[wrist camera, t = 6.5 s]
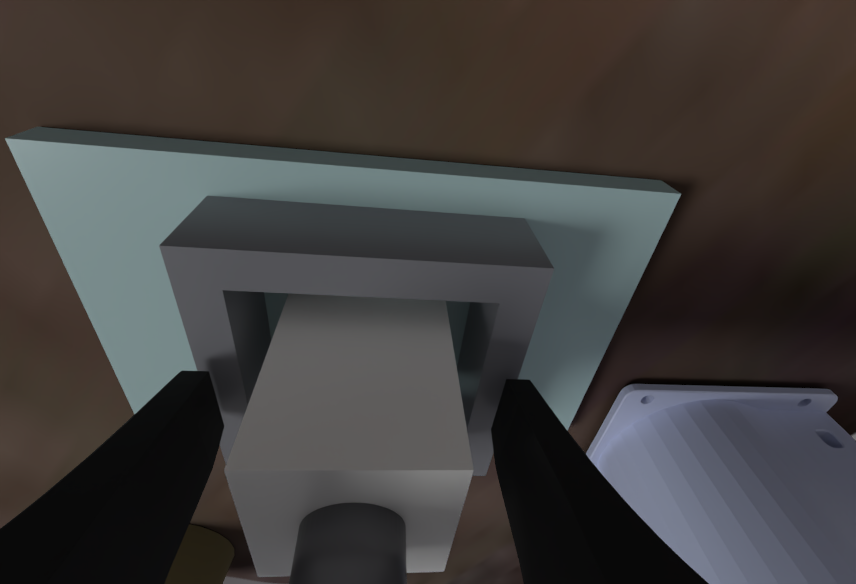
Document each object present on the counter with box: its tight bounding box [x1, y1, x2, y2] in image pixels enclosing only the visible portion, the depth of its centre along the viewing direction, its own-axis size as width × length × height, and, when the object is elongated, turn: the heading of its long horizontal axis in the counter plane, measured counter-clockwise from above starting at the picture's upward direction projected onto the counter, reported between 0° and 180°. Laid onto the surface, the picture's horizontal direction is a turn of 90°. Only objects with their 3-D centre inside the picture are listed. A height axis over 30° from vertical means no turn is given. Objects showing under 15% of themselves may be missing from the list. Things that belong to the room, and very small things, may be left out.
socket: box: [5, 127, 681, 476], centre depth 12 cm, size 16×11×4 cm
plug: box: [224, 293, 474, 584], centre depth 10 cm, size 4×4×8 cm
